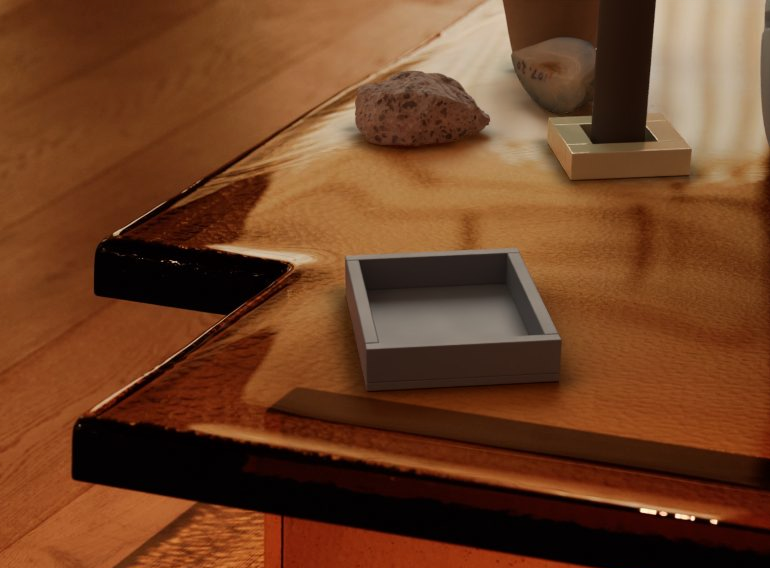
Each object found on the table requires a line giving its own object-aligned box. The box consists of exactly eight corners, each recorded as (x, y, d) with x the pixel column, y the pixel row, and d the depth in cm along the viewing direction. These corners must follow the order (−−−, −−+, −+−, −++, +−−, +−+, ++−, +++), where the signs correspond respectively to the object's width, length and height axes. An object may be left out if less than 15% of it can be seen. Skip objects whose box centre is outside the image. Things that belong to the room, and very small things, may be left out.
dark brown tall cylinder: (649, 166, 118) (666, -45, 111) (595, 168, 118) (609, -43, 110) (636, 149, 122) (652, -57, 114) (584, 151, 122) (596, -55, 114)
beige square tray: (689, 175, 117) (692, 148, 116) (570, 180, 116) (571, 153, 115) (659, 138, 124) (661, 112, 123) (546, 142, 123) (548, 117, 122)
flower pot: (499, 48, 147) (503, -66, 142) (623, 55, 145) (632, -61, 140) (475, 82, 138) (478, -39, 133) (607, 90, 135) (616, -33, 130)
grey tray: (559, 381, 88) (562, 339, 86) (366, 391, 87) (365, 349, 86) (516, 285, 99) (517, 247, 98) (345, 293, 98) (344, 255, 97)
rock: (369, 110, 131) (369, 60, 129) (499, 120, 128) (500, 69, 126) (338, 144, 124) (336, 91, 122) (474, 155, 121) (475, 101, 119)
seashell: (527, 47, 137) (499, 5, 127) (628, 72, 134) (608, 30, 124) (503, 118, 137) (473, 81, 127) (603, 144, 134) (581, 108, 125)
